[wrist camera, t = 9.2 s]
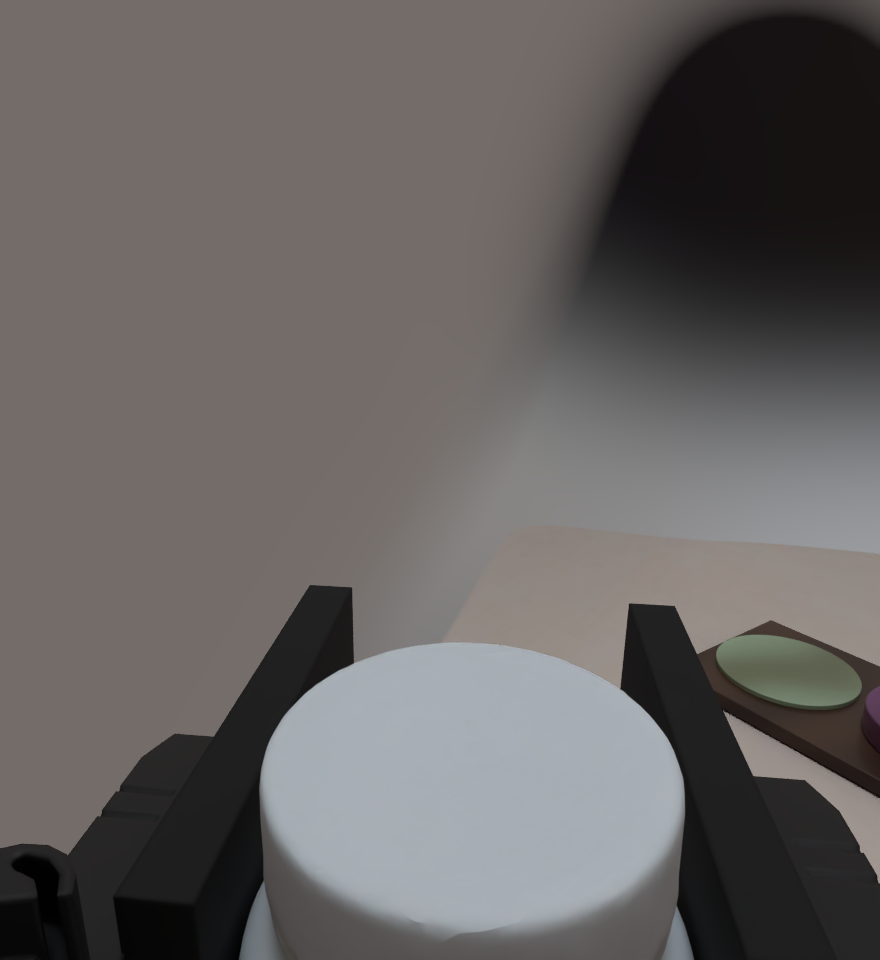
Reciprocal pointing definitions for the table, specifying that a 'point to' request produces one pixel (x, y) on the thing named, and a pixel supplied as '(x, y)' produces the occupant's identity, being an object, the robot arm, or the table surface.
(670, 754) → the pill bottle
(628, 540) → the table surface
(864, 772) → the board
